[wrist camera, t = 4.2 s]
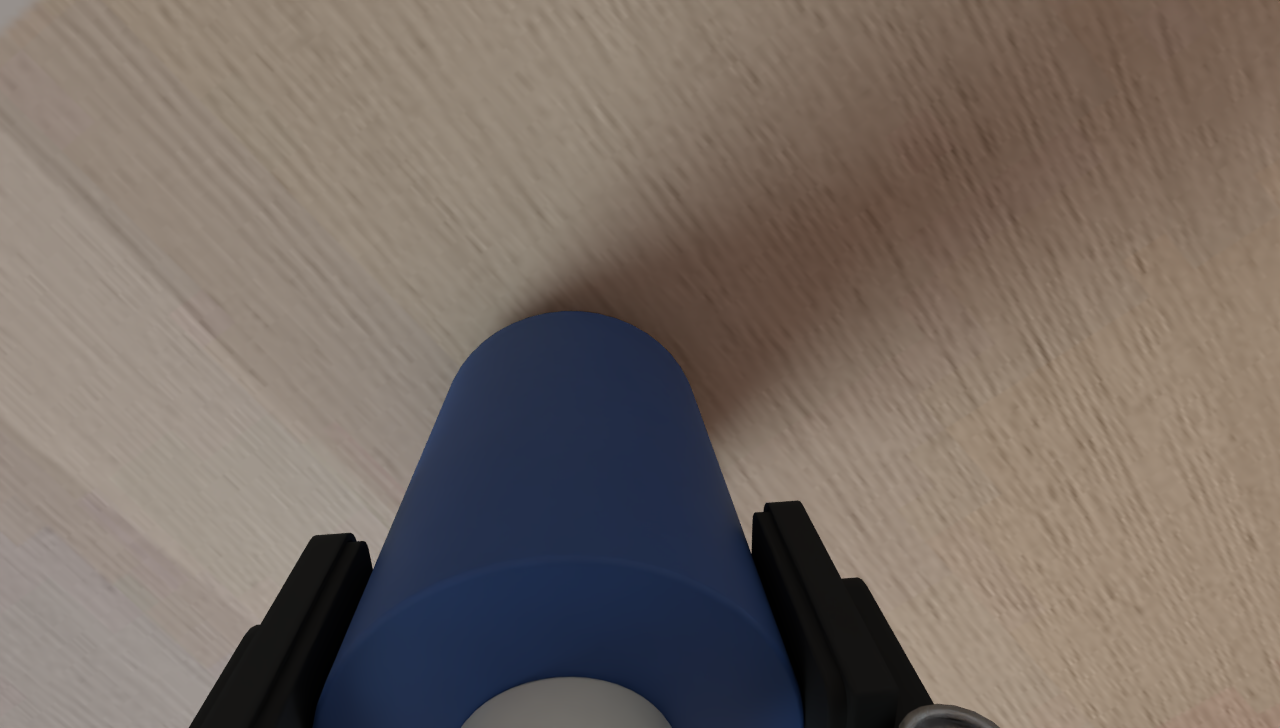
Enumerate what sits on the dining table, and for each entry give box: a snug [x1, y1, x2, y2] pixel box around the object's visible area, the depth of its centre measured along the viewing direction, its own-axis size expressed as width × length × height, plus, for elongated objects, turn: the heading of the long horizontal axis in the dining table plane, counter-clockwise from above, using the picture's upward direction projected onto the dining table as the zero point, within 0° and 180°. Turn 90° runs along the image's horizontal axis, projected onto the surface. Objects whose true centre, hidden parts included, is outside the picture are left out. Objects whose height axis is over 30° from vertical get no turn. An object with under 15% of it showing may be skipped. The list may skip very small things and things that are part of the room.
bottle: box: [312, 311, 804, 728], centre depth 12 cm, size 6×6×11 cm
